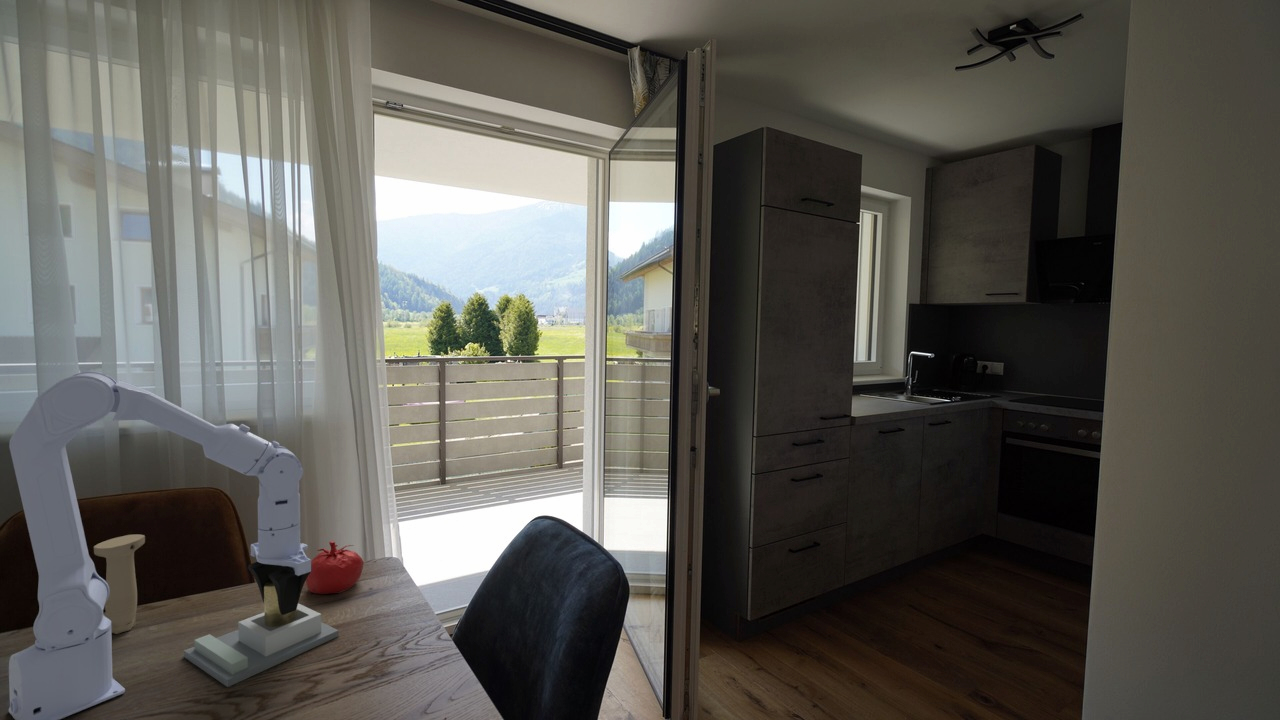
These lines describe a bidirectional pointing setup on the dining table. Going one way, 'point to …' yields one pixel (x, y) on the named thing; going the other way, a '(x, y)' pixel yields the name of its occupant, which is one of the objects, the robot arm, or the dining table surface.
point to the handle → (120, 580)
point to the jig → (258, 646)
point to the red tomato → (334, 570)
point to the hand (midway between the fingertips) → (280, 607)
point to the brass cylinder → (274, 608)
